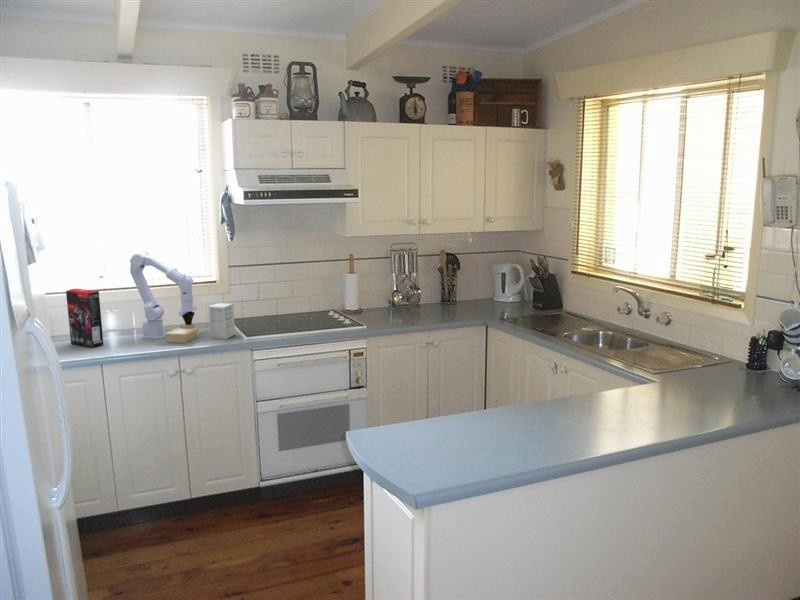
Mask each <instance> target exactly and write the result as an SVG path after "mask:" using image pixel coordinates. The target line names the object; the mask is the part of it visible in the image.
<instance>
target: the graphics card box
mask: <svg viewBox="0 0 800 600" xmlns="http://www.w3.org/2000/svg"><path fill="white" fill-rule="evenodd" d="M65 293H66V294H65V295H66V304H67V305H66V306H67V314H68V315H67V316H68V326H69V337H70V344H71V345H77V346H85V347H91V348H94V347H100V346H103V345H104V335H103V325H102V313H101V312H102V311H101V302H100V301H101V300H100V292H99V290H91V289H86V288H85V289H83V288H72V289H71V288H70V289H68V290H66V291H65Z"/></svg>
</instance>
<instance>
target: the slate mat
mask: <svg viewBox="0 0 800 600" xmlns="http://www.w3.org/2000/svg"><path fill="white" fill-rule="evenodd" d="M209 337H210V335H209V334H208V335H206V334H205V335H204V334H198V337H196V338H194V339H192V340H190V341H188V342H186V343H167V338H165V339H163V340H160V341H158V342H157V343H154V344H153V345H154V346H170V347H172V346H173V347H174V346H175V347H191V346H193V345H195V344H197V343H199V342H200V341H203V340H205V339H207V338H209Z"/></svg>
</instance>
